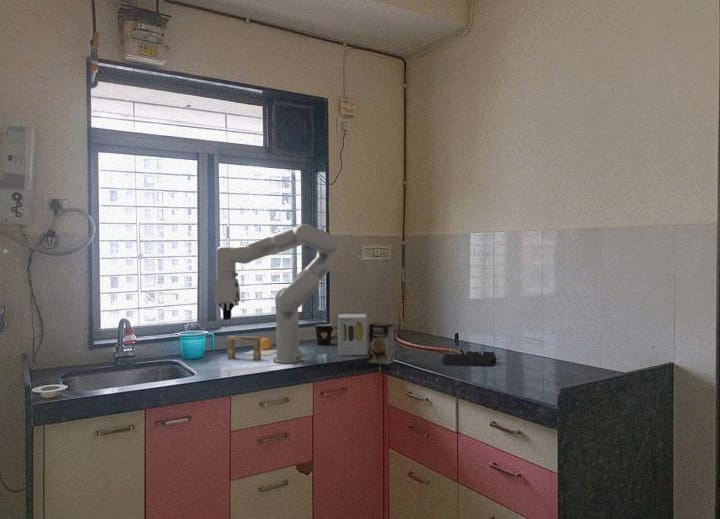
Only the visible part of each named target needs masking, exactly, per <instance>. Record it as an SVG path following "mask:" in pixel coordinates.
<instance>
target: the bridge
mask: <svg viewBox="0 0 720 519" xmlns="http://www.w3.org/2000/svg"><path fill="white" fill-rule="evenodd" d="M261 339H262V337H261V336H247V335H246V336H244V335H242V336H241V335H228V336H227V338H226V340H227V343H226V345H227V359H228V360H229V359H231V360H232V359H235V358H236V341H250V342H251V341H252V345H253V346H252V350H253V355H252V358H253V361H259V360H261V359H262V355H261Z"/></svg>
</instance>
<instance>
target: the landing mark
mask: <svg viewBox="0 0 720 519" xmlns="http://www.w3.org/2000/svg"><path fill="white" fill-rule="evenodd" d="M275 353H277V349H270V348H269V349H267V350H263V349H261V356H270V355H273V354H275ZM242 355H251V356H253V349H252V350H249V351H247V352H244V353H242Z"/></svg>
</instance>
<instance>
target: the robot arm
mask: <svg viewBox="0 0 720 519" xmlns="http://www.w3.org/2000/svg"><path fill="white" fill-rule="evenodd" d="M302 245H305V246H307V247H309V248H312V249H314V250H316V254H315V257H314V258H313V259H312V260H311V262H309V263H308V265H307V266H305V267H304V268H303V269H302V270H301V271H300V272H299V273H297V274H296V276H295V277H294V280H293V281H292V282H291V284H290V285H288V286H287V287H283V288H281V289H279V290H278V292H277V293H276V295H275V298H274V299H275V300H274V301H275V303H274V306H275V318H276V319H275V322H276V323H275V324H276V325H275V326H276V327H275V328H276V331H275V332H276V333H275V334H276V336H275V337H276V338H275V339H276V350H277V352H276V356H274V357H273V358H272V360H273V363H277V364H293V363H294V364H295V363H300V362H301V361H303V359H307V357H308V353H307V352H302V349H300V347H299V346H300V342H299V341H300V339H299V336H300V335H299V333H300V332H299V308H300V307H301V306H302V305H304V304H305V302H306V301H308V299H310V297H311V296H313V294H315V292H316V291H317V290H318V288H319V286H320V281H321V280H322V279H323V278H324V277H325V276H326V275H327V274H328V272H330V270H331V269H332V268H333V266H334V263H335V259H336V252H337V251H338V249H339V247H340V246H339V245H340V242H339V240H338V238H337V237H336V236H335V235H333V234H332V233H329V232H326V231H325V230H322V229H319V228H317V227H315V226H313V225H311V224H308V223H301V224H298V225H295V226H292V227H290V228H287V229H284V230H281V231H278V232H275V233H273V234H270V235H268V236H266V237H264V238H261V239H259V240H257V241H256V240H255V241H254V242H250V243H248V244H245V245H241V246H229V245H228V246H227V245H226V246H219V247H217V249H216V264H217V265H216V266H217V267H216V268H217V269H216V270H217V271H216V272H217V274H216V276H217V279H215V284H214V296H213V297H214V301H215V303H214V304H215V306H219V307H220V308H221V311H222V317H223V320H224V321H225V320H226V321H228V320H231V318H232V310H233V308H234V307H236V306H239V305H240V303H239V302H240V301H241V290H240V283H239V280H238V279H239V278H237V277H238V276H239V273H238V272H237V270H236V264H237V263H238V264H249V263H252V262H253V261H255V260H258V259H261V258H264V257H268V256H273V255H277V254H280V253H283V252H285V251H288V250H291V249H294V248H297V247H299V246H302Z"/></svg>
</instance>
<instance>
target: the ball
mask: <svg viewBox="0 0 720 519" xmlns="http://www.w3.org/2000/svg"><path fill="white" fill-rule="evenodd" d="M271 346H272V341H271V339H270V338H268V337H265V336H264V337H261V349H263V350H267V349H270V348H271Z"/></svg>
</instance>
